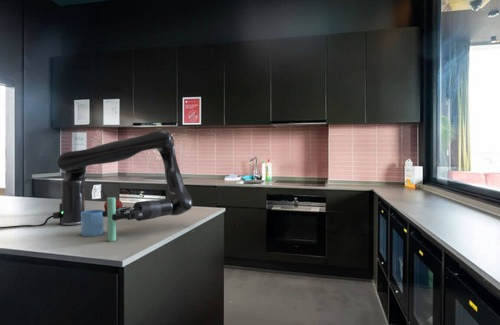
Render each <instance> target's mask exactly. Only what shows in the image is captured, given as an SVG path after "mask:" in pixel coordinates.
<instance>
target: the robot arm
mask: <svg viewBox="0 0 500 325" xmlns="http://www.w3.org/2000/svg"><path fill="white" fill-rule="evenodd" d="M175 148H176V147H175V139H174V137H173V136H172V135H171V133H170V132H169V131H168V130H165V129H157V130H154V131H152V132H148V133H145V134H141V135H139V136H134V137H129V138H124V139H120V140H115V141H114V140H113V141H111V142H107V143H104V144H99V145H96V146H93V147H89V148H85V149H80V150H72V151H65V152H63V153H61V154H60V155H58V157H57V159H56V165H57V167H58V168H59V169H60V170H61V171H63V172H64V177H63V178H62V180H61V182H60V188H61V189H60V191H61V192H60V193H61V196H60V197H61V202H60V203H59V211H55V212H52V215H50V216H48V217H47V218H45V220H44V222H43V223H41V224H19V225H18V224H17V225H7V226H0V230H2V229H3V230H4V229H15V228H26V227H27V228H31V227H32V228H35V227H42V226H45V225H46V224H47V223H48V221H49V220H50V219H54V220H59V225H62V226H77V225H81V212H83V211H86V210H85V208H86V207H85V205H86V204H85V182H86V179H87V167H88V166H94V165H103V164H110V163H111V164H112V163H116V162H120V161H121V162H122V161H126V160H128V159H130V158H132V157H134V156H136V155H138V154H140V153H141V152H144V151H150V150H157V151H158V153H159V155H160V157H161V159H162V163H163V167H164V176H165V181H166V185H167V188H168V191H169V193H170V194H172V195H175V197H176V199H173V200H171V199H167V198H163V199H152V200H143V201H142V200H141V201H136V202H134V203H133V206H132V207H131V206H123V207H121V208H116V211H118V213H116V214H113V215H112V220H116V221H118V220H125V221H126V220H127V221H131V220H136V221H137V222H140V221H147V220H153V219H156V218H160V217H161V218H162V217H166V216H180V215H182V214H184V213H186V212H188V211H190V210H191V209H192V208H193V199H192V196H191V195H190V193H189V192H188V189H187V188H186V186H185V183H184V180H183V177H182V173H181V171H180V167H179V165H178V159H177V155H176V149H175ZM102 216H103V218H108V212H107V211H105V210H103V212H102Z"/></svg>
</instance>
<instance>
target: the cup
mask: <svg viewBox="0 0 500 325" xmlns="http://www.w3.org/2000/svg"><path fill="white" fill-rule="evenodd" d="M103 211H104V210H103V209H88V210H85V211H83V212H81V224H80V236H82V237H97V236H100V235H103V234H104V232H105V231H104V230H105V229H104V217H103V216H102V212H103Z"/></svg>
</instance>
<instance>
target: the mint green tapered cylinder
mask: <svg viewBox="0 0 500 325" xmlns="http://www.w3.org/2000/svg"><path fill="white" fill-rule="evenodd" d="M116 199H117V198H116V197H115V196H114V197H113V196H111V197H107V200H106V201H107V212H108V217H107V241H108V242H115V241H117V220H112V215H113V214H116Z"/></svg>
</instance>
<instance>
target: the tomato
mask: <svg viewBox="0 0 500 325" xmlns="http://www.w3.org/2000/svg"><path fill="white" fill-rule="evenodd" d="M103 206H104V207H103V208H104V211H107V200H106V201H105V202H104V203H103ZM121 207H124V206H123V202H122V201H121V200H119V199H117V198H116V208H121ZM116 213H118V211H116Z"/></svg>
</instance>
